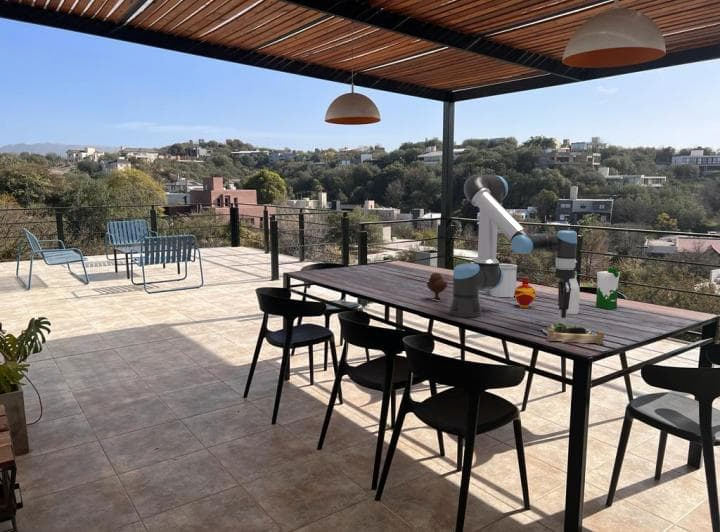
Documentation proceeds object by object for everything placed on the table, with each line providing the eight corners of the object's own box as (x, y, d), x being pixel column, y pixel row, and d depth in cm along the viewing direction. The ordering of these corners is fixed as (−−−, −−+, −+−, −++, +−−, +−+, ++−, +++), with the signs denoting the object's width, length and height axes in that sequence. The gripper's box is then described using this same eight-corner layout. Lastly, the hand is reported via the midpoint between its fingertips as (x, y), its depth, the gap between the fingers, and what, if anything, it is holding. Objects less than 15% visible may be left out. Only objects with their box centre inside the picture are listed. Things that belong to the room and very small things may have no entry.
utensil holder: (489, 297, 276) (491, 266, 274) (487, 293, 291) (488, 263, 289) (517, 298, 274) (519, 266, 272) (513, 293, 289) (515, 263, 286)
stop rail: (548, 341, 187) (548, 330, 186) (546, 339, 190) (547, 328, 189) (603, 344, 184) (604, 332, 183) (601, 342, 186) (601, 331, 186)
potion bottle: (512, 307, 249) (514, 278, 247) (514, 304, 258) (515, 275, 257) (535, 309, 245) (536, 279, 243) (536, 305, 255) (537, 276, 253)
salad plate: (529, 334, 198) (530, 323, 198) (546, 326, 212) (547, 315, 211) (580, 343, 186) (581, 331, 185) (595, 334, 199) (596, 323, 199)
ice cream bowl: (448, 302, 263) (449, 273, 261) (427, 302, 263) (428, 273, 261) (445, 298, 273) (446, 271, 272) (425, 298, 274) (425, 271, 272)
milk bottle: (580, 315, 233) (582, 272, 231) (562, 314, 235) (564, 272, 232) (576, 311, 241) (578, 270, 238) (559, 311, 242) (561, 270, 240)
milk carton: (609, 310, 244) (612, 269, 242) (592, 307, 252) (594, 267, 249) (619, 308, 249) (622, 268, 247) (602, 305, 257) (604, 266, 254)
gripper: (579, 270, 198) (575, 329, 201) (571, 266, 210) (568, 321, 213) (559, 270, 199) (555, 328, 202) (552, 266, 212) (549, 320, 215)
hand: (562, 324), depth 208 cm, fingers closed
